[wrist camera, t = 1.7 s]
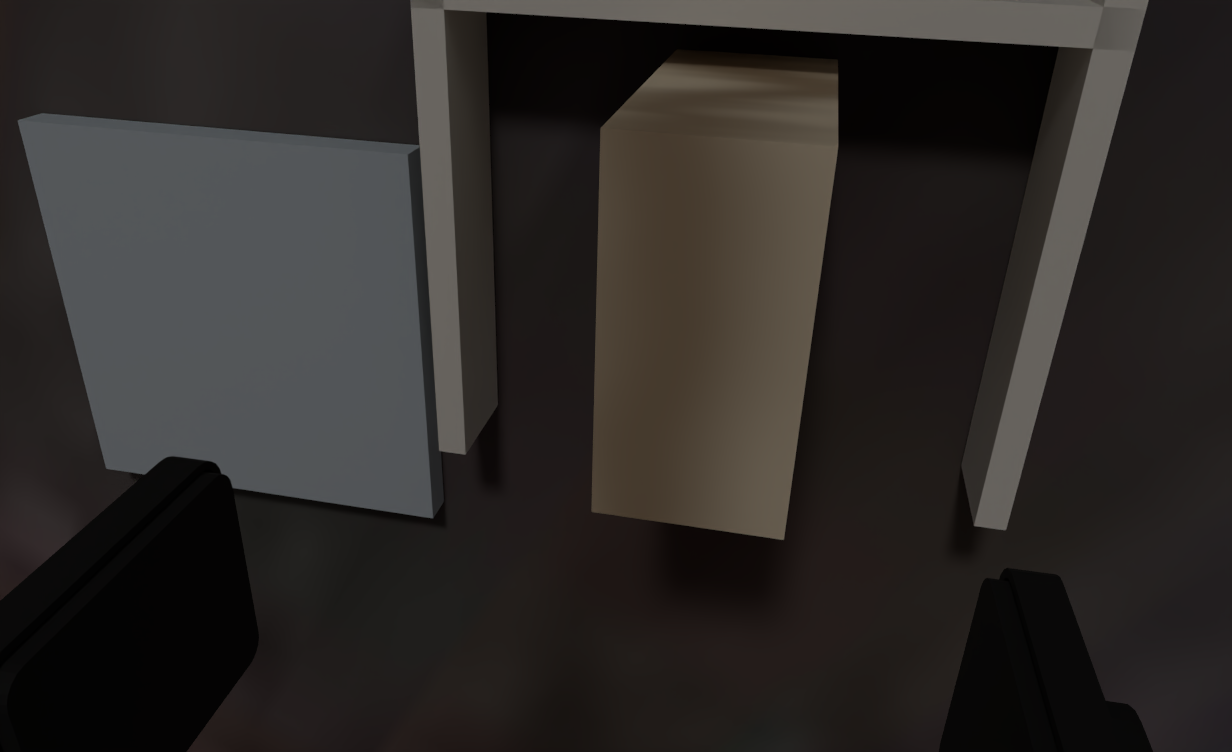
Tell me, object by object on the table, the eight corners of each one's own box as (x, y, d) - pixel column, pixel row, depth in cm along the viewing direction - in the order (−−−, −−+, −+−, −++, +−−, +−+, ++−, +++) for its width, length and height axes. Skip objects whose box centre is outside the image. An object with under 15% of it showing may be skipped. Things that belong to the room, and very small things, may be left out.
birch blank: (837, 59, 24) (838, 147, 16) (799, 351, 27) (783, 540, 19) (677, 48, 24) (600, 128, 16) (660, 335, 28) (591, 511, 20)
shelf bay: (1111, -16, 22) (1149, -2, 19) (990, 469, 28) (1005, 530, 25) (454, -49, 24) (407, -40, 22) (473, 402, 30) (439, 450, 28)
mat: (421, 145, 27) (407, 154, 26) (444, 501, 32) (433, 518, 31) (42, 113, 29) (17, 120, 28) (124, 453, 34) (106, 468, 33)
